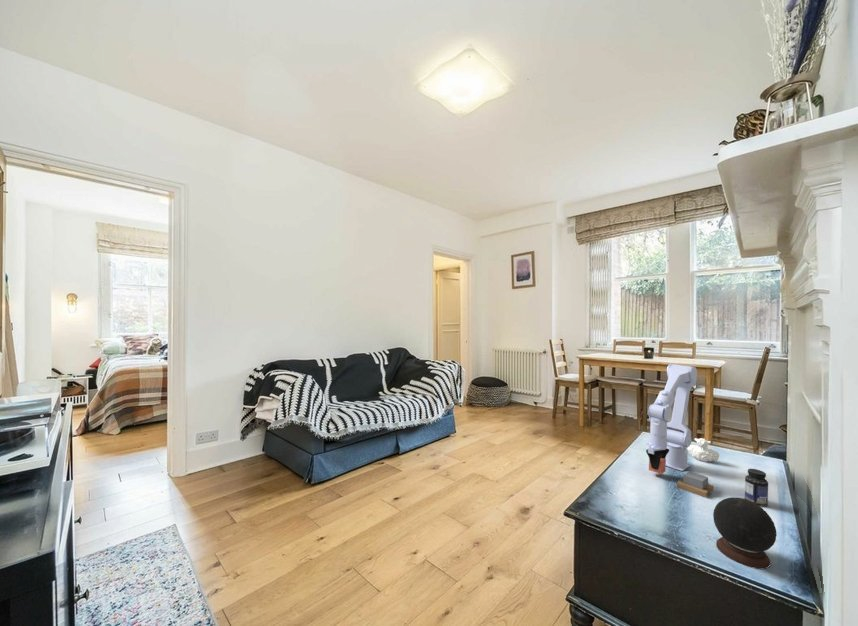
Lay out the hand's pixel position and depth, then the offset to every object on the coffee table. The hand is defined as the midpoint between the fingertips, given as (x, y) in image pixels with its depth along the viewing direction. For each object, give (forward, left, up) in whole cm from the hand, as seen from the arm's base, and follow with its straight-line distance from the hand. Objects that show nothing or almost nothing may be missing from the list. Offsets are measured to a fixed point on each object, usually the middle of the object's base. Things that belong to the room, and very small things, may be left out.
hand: (657, 467), depth 145 cm
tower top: (0, +13, -2) cm, 13 cm away
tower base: (0, +13, -4) cm, 14 cm away
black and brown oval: (+33, +33, -4) cm, 47 cm away
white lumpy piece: (-35, +6, -4) cm, 36 cm away
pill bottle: (-7, +29, -4) cm, 30 cm away
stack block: (0, 0, -1) cm, 1 cm away
